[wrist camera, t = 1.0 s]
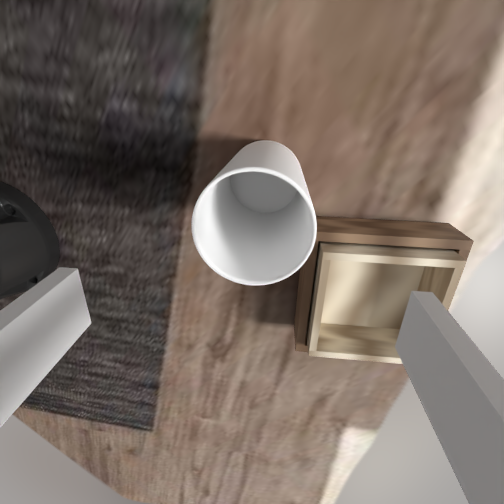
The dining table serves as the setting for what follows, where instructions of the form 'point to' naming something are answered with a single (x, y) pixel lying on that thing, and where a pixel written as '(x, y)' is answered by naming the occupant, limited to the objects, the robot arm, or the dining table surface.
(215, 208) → the cup
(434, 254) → the birch crate
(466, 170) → the dining table surface
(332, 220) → the box
